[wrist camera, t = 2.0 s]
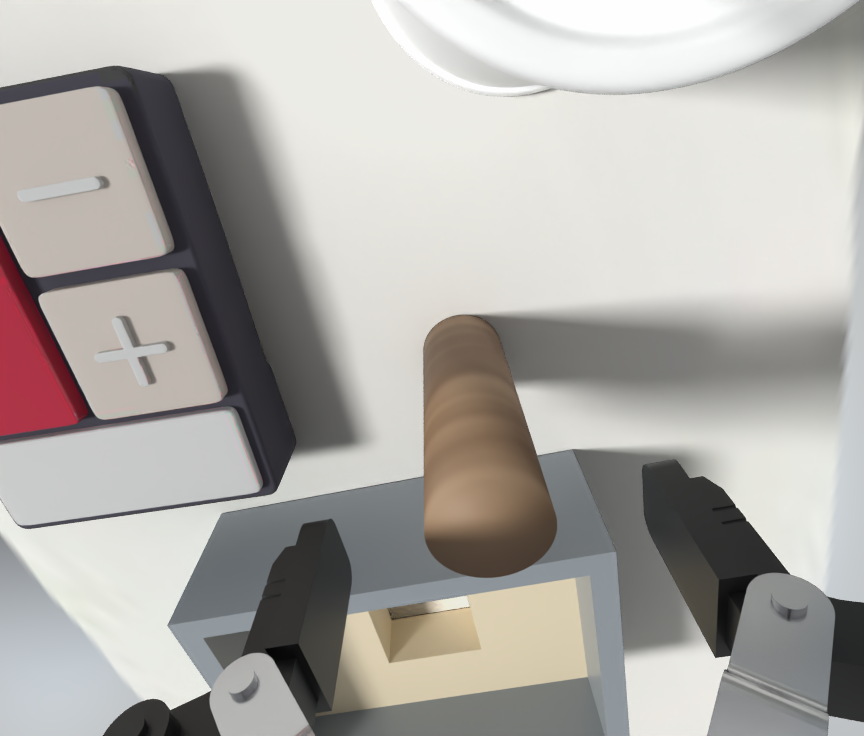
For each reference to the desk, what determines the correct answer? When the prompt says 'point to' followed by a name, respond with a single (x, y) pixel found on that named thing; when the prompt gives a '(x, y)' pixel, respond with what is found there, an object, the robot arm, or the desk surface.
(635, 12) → the white cylindrical bottle
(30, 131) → the calculator
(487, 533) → the peg
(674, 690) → the desk surface
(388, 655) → the grey open box
